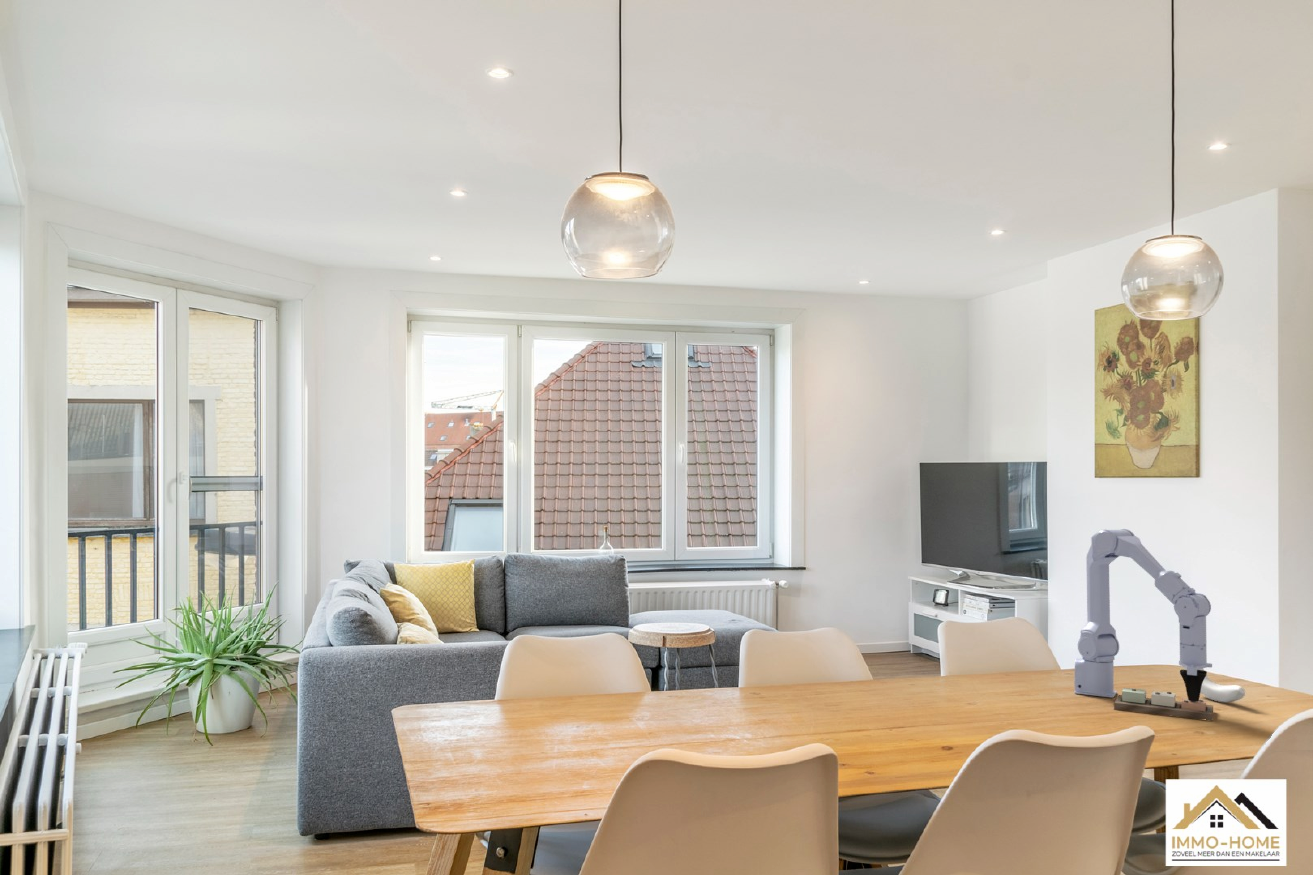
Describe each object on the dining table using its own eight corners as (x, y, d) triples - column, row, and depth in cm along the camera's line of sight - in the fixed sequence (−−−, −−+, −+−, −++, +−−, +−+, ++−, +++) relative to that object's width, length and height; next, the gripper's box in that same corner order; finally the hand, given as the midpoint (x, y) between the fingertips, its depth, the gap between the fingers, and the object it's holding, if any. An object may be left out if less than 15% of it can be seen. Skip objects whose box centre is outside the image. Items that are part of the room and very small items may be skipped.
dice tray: (1114, 709, 241) (1114, 702, 241) (1118, 700, 250) (1118, 694, 250) (1212, 720, 230) (1211, 714, 230) (1213, 711, 239) (1213, 705, 239)
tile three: (1181, 712, 236) (1181, 701, 236) (1182, 708, 240) (1182, 697, 240) (1205, 715, 233) (1205, 703, 233) (1205, 711, 238) (1205, 699, 238)
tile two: (1151, 704, 239) (1151, 693, 239) (1152, 700, 243) (1152, 689, 244) (1174, 706, 237) (1174, 695, 237) (1175, 702, 241) (1175, 691, 241)
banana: (1240, 710, 242) (1239, 650, 242) (1180, 693, 260) (1179, 638, 261) (1256, 709, 243) (1255, 650, 244) (1195, 693, 261) (1194, 638, 262)
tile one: (1122, 700, 243) (1121, 689, 243) (1124, 697, 247) (1124, 686, 247) (1144, 703, 240) (1144, 692, 240) (1146, 699, 244) (1146, 688, 244)
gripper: (1211, 649, 229) (1211, 708, 229) (1212, 641, 242) (1213, 697, 241) (1177, 646, 233) (1177, 704, 232) (1180, 639, 245) (1180, 693, 245)
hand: (1193, 700), depth 237 cm, fingers closed, pressing on tile three
